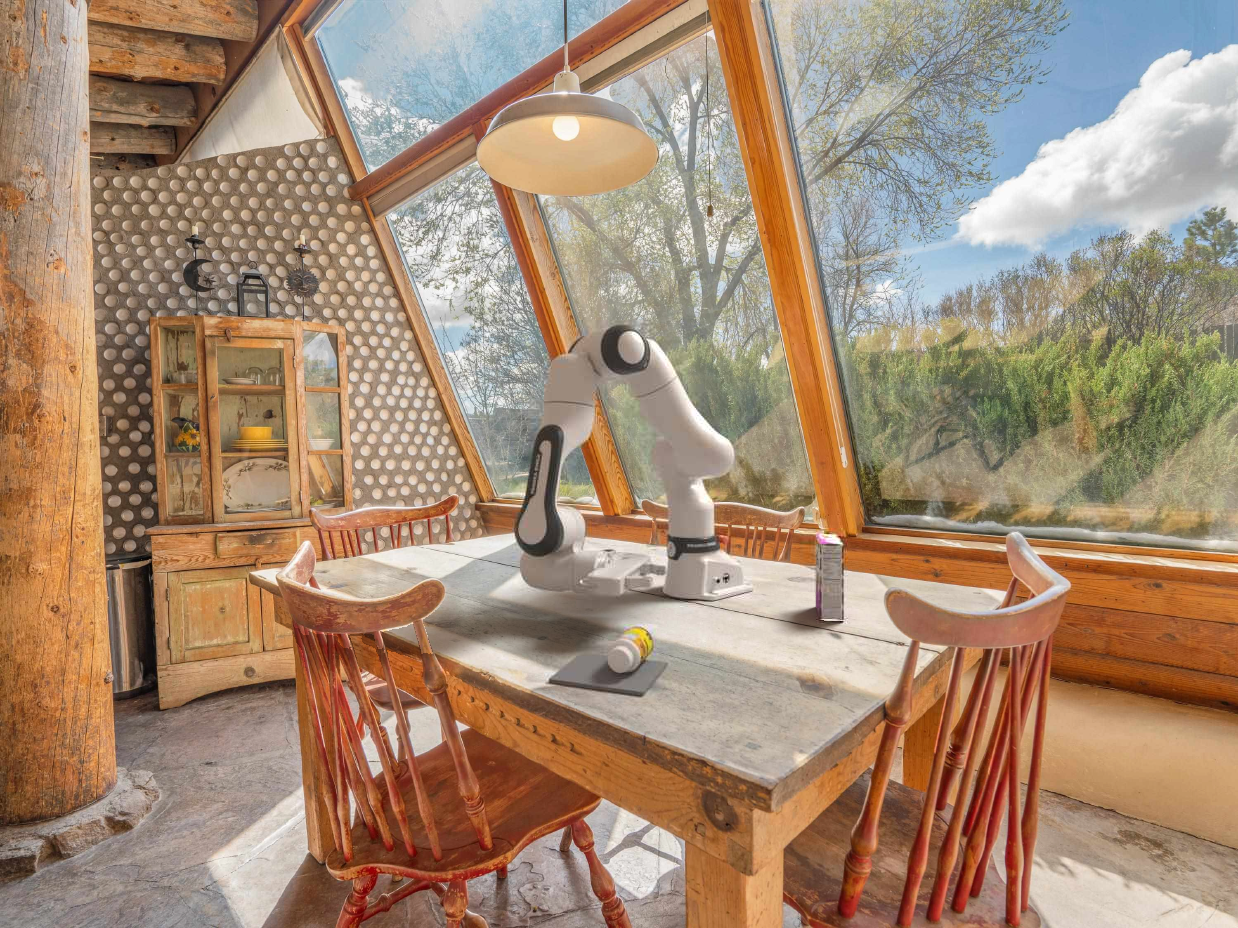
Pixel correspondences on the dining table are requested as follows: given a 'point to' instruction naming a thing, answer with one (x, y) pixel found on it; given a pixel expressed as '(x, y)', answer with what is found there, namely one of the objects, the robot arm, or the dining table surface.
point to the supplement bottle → (630, 649)
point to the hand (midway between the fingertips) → (658, 576)
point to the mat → (608, 674)
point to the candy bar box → (829, 576)
